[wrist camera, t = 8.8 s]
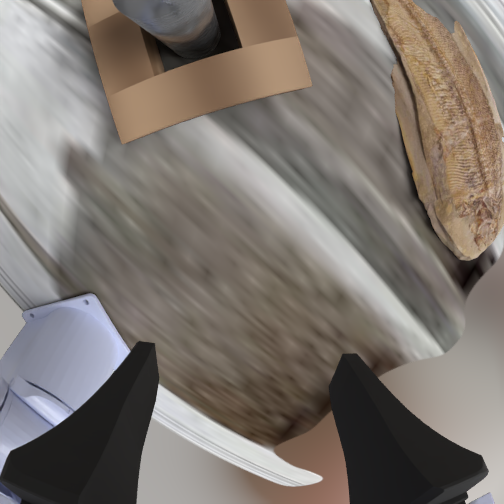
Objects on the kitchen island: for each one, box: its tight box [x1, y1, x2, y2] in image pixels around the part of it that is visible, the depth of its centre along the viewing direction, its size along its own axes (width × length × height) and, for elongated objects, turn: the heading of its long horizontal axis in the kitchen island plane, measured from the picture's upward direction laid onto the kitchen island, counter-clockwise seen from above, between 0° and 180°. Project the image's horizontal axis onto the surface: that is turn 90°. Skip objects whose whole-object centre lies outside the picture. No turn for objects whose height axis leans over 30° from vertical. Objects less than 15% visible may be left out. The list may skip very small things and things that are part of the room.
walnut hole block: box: [81, 0, 312, 144], centre depth 13 cm, size 10×10×3 cm
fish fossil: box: [370, 0, 504, 261], centre depth 16 cm, size 26×10×1 cm, turn 31°
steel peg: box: [112, 0, 220, 59], centre depth 10 cm, size 3×3×9 cm
